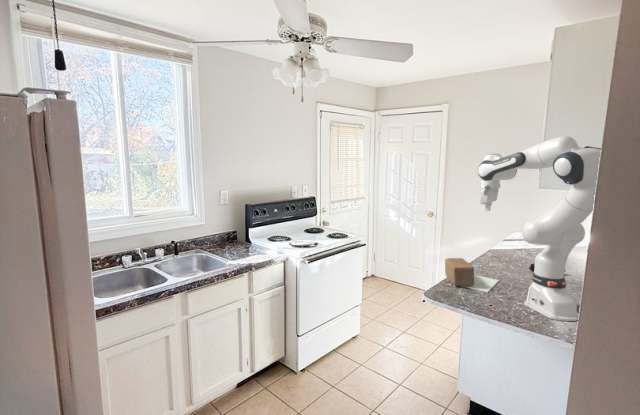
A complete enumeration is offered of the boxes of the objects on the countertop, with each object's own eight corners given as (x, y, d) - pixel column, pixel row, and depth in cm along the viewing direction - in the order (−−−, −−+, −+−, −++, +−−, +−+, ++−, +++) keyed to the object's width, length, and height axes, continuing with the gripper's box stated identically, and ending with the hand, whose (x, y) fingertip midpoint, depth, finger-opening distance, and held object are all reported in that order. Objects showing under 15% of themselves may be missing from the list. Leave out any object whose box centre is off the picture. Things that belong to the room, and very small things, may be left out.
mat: (487, 292, 166) (487, 291, 166) (454, 284, 176) (454, 284, 176) (498, 280, 182) (499, 280, 182) (468, 274, 193) (468, 273, 193)
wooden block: (474, 267, 170) (462, 257, 190) (453, 267, 172) (444, 258, 191) (474, 286, 171) (463, 274, 191) (454, 286, 172) (444, 275, 192)
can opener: (529, 273, 196) (530, 264, 195) (528, 269, 202) (529, 260, 201) (566, 278, 188) (567, 268, 187) (564, 274, 194) (565, 265, 194)
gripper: (491, 186, 167) (489, 214, 170) (501, 184, 183) (498, 209, 185) (478, 185, 171) (476, 212, 174) (488, 183, 187) (486, 208, 189)
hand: (487, 210), depth 179 cm, fingers closed
